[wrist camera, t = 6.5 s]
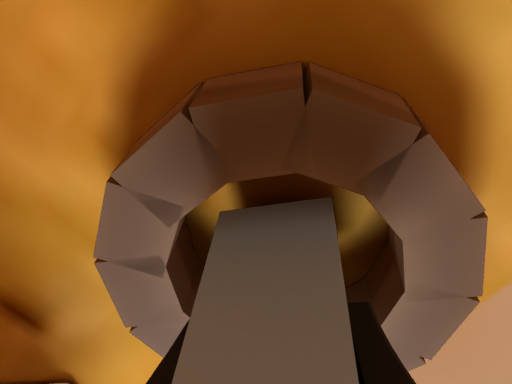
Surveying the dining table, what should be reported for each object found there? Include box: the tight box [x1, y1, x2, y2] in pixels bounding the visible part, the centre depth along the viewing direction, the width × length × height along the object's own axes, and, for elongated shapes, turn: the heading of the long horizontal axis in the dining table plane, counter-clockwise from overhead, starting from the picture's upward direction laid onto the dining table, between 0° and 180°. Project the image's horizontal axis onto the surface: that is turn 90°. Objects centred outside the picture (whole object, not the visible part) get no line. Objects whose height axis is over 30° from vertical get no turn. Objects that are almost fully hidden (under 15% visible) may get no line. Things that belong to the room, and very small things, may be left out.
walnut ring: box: [93, 62, 488, 371], centre depth 16 cm, size 13×13×3 cm
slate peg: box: [172, 197, 359, 384], centre depth 12 cm, size 4×4×10 cm
